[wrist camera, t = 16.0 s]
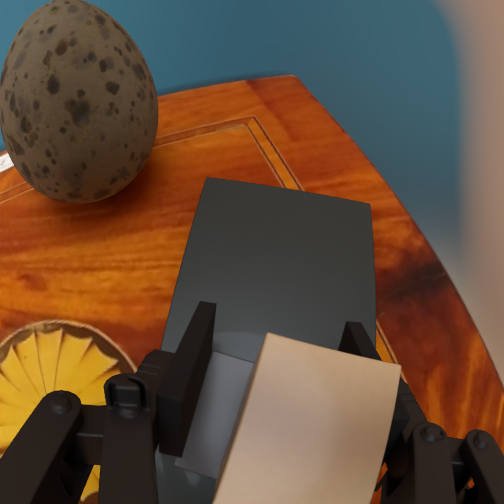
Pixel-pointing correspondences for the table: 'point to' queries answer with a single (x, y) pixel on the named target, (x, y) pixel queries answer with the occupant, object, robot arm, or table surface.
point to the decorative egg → (77, 103)
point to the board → (268, 283)
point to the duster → (292, 425)
